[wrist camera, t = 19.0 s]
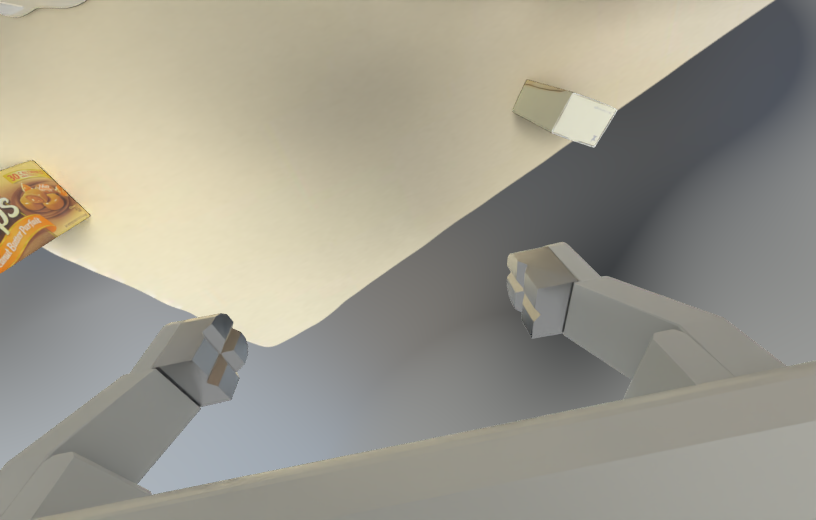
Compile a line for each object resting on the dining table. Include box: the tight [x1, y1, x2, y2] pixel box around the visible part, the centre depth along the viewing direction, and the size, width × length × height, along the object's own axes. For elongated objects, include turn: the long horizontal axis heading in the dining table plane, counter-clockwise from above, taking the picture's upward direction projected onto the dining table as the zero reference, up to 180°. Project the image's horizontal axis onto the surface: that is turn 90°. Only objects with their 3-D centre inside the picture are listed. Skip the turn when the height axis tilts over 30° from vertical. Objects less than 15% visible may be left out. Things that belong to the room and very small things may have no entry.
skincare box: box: [513, 80, 617, 147], centre depth 38 cm, size 6×4×12 cm
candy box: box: [0, 161, 90, 273], centre depth 37 cm, size 9×4×15 cm, turn 17°
